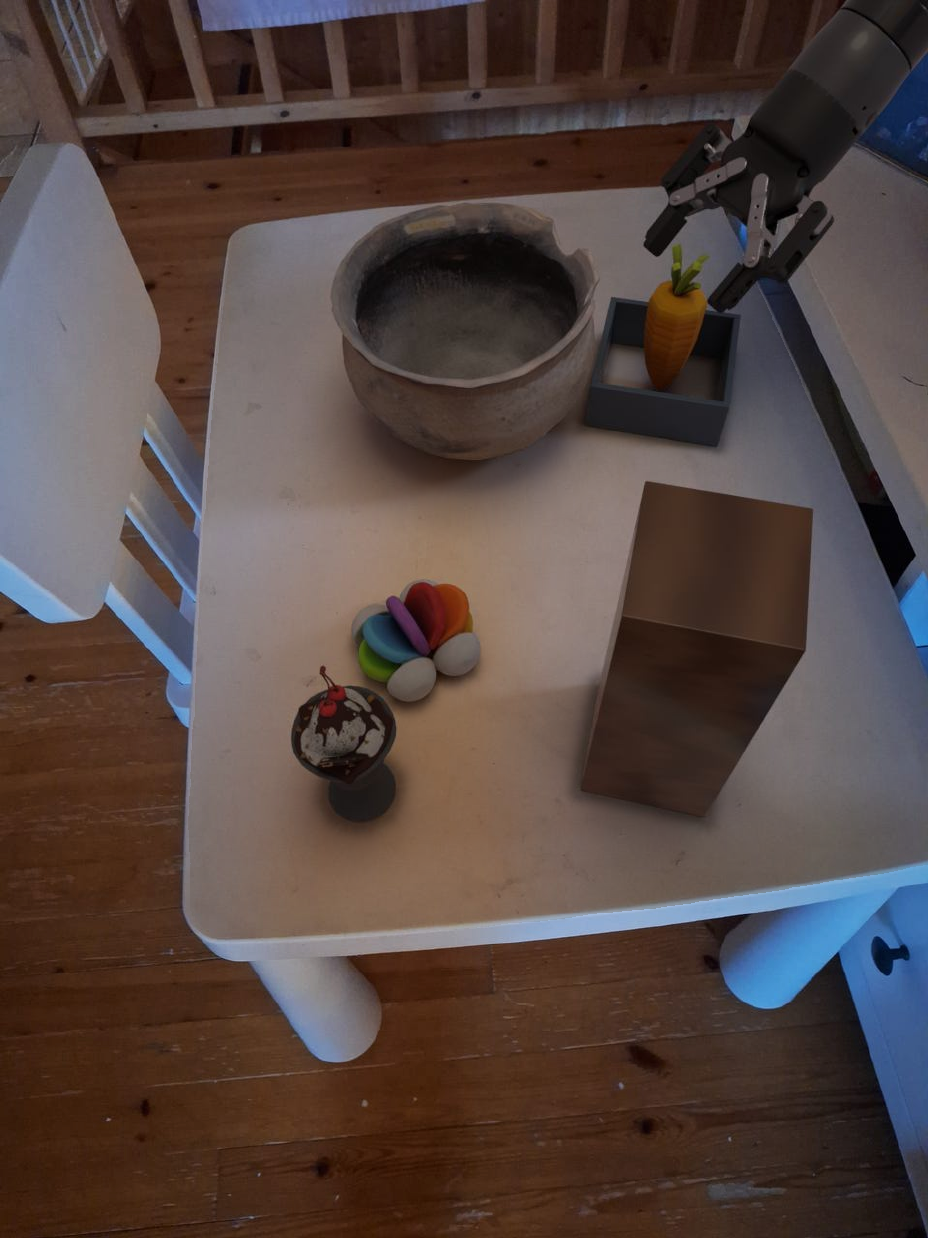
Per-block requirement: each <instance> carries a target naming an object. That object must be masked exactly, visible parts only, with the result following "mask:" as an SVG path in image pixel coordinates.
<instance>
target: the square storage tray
mask: <svg viewBox="0 0 928 1238" xmlns="http://www.w3.org/2000/svg"><path fill="white" fill-rule="evenodd" d="M609 300H610V301H609V305H608V309H607V313H606V318H605V322H604V325H603V329H602V334H601V338H600V343H599V347H598V350H597V351H598V352H597V355H596V360H595V364H594V368H593V372H592V377H591V382H590V385H589V390H588V391H589V393H588V400H587V408H586V416H585V422H584V423H585V424H584V425H585V426H586V427H591V428H598V429H604V430H609V431H610V430H611V431H615V432H616V431H617V432H622V433H628V434H637V435H641V436H649V437H654V438H660V439H665V440H666V439H668V440H674V441H678V442H679V441H680V442H685V443H686V442H687V443H693V444H699V445H705V446H710V447H719V446H718V445H719V442H720V439H721V437H722V433H723V430H724V427H725V423H726V420H727V417H728V414H729V411H730V407H731V399H732V392H733V383H734V376H735V366H736V359H737V349H738V343H739V342H738V341H739V335H740V334H739V333H740V327H741V326H740V325H741V317H742V315H741V314H739V313H732V312H725V311H724V312H722V313H719V312H717V311H716V310H709V309H706V311H705V314H704V318H703V321H702V325H701V328H700V331H699V334H698V337H697V340H696V343H695V345H694V347H693V349H692V351H691V353H690V355H692V356H693V355H694V356H700V357H705V358H706V357H707V358H714V359H720V360H721V366H720V374H719V380H718V387H717V395H716V400H715V399H709V398H703V397H696V396H695V397H694V396H689V395H681V394H676V393H675V394H674V393H669V392H663V391H657V390H656V391H655V390H649V389H642V388H636V387H630V386H629V387H628V386H623V385H616V384H610V383H603V377H604V373H605V368H606V364H607V363H606V362H607V361H608V356H609V351H610V346H611V344H617V345H624V346H632V347H639V348H644V331H645V322H646V315H647V309H648V302H649V301H645V300H638V299H631V298H623V297H615V296H611V297H610V299H609Z"/></svg>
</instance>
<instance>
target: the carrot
mask: <svg viewBox="0 0 928 1238" xmlns="http://www.w3.org/2000/svg"><path fill="white" fill-rule="evenodd" d="M671 250H672V251H671V252H672V261H673V264H672V266H671V269H670V276H671V277H670V278H671V280H666V281H663V282H661V283H659V284H658V286H657V287H656V288H655V290H654V291H653V293H652V294H651V295H650V298H649V299H648V301H647V302H648V309H647V315H646V322H645V331H644V347H643V355H644V364H645V369H646V372H647V376H648V378H649V380H650V383H651V384H652V386H653V388H654V390H656V391H657V392H662V391H665V390H666V389H667V388H668V387H669V386H670V385H672V383H673V382H674V381H675V379H676V378H677V377H678V376H679V374H680V373H681V371H682V370H683V368H684V366H685V364H686V363H687V361H688V359H689V357H690V355H691V354H690V353H691V351H692V349H693V347H694V345H695V343H696V340H697V337H698V334H699V331H700V328H701V325H702V321H703V318H704V314H705V311H706V310H707V307H708V303H707V300H708V298H707V297H706V295H704V293H703V291H702V289H701V288H702V284H701V283H700V282H698V281H694V282H692V281H693V280H694V279H695V278H696V277H697V276H698V275H699V274H700V273H701V272H702V269H703V263H704V262H706V261H707V260H708V259H709V258H710V256H709V255H708V254H706V253H704V254H702V255H700V256H699V257H698V258H696V259H695V260H694V261H693V262H692V263H691V264H690V265H689V266H688V267H687V268H686V269H685V271H683V273H682V270H683V269H682V268H683V267H682V266H683V252H682V251H683V249H682V244H681V243H677V244H674V245H672V247H671Z"/></svg>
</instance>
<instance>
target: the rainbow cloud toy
mask: <svg viewBox="0 0 928 1238" xmlns="http://www.w3.org/2000/svg"><path fill="white" fill-rule="evenodd" d="M473 629H474V619H473V616H472V614H471V612H470V602H469V598H468V596H467V594H466V593H465V591H464V590H462V589H461V588H459V587H458V586H456V585H453V584H451V583H437V582H435V581H433V580H432V579H431V580H430V579H424V578H423V579H416V580H414V581H411V582H410V583H408V584H407V585H406V586H404V588H403V589H402V591H400V595H399V596H396V595H390V596H388V597H387V598H386V600H385V604H380V603H378V604H377V603H376V604H375V603H374V604H370V605H367V606H364V607H363V608H362V609H360V610H359V611H358V612H357V613H356V615H355V616H354V618H353V620H352V623H351V628H350V634H351V638H352V641H353V643H354V644H355V645H356V646H357V647H359V648H358V651H357V660H358V661H357V662H358V665H359V668H360V669H361V671H362V672H363V673H364V674H365V675H366V676H367V677H368V678H370V679H372V680H375V681H377V682H384V683H387V685H386V688H387V691H388V693H389V694H390V695H391V696H393V698H396V699H397V700H400V701H403V702H415V701H419V700H421V699H423V698H425V697H426V696H428V694H430V692H431V691H432V689H433V688H434V685H435V683H436V679H437V671H438V672H441V673H442V674H444V675H446V676H452V677H453V676H455V677H457V676H461V675H465V674H467V673H468V672H470V671H472V669H474V667H475V666H476V665H477V663H478V661H479V660H480V656H481V642H480V640H479V637H478V636H477V634H476V633H474V632H473ZM429 654H431V655H432V659H431V658H430V657H427V656H428V655H429Z"/></svg>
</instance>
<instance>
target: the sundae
mask: <svg viewBox="0 0 928 1238" xmlns="http://www.w3.org/2000/svg"><path fill="white" fill-rule="evenodd" d="M326 671H327V667H326V666H325V665H321V666H320V667H319V675H320V676H321V677H322V679H324V681H325V683H326V686H327V689H325V690H322V691H320V692H318V693H316V694H314V695H312V696H311V697H309V698H308V699H307V701H305V702H304V703H303V704H301V705H299V707H298V710H297V713H296V716H295V718H294V720H293V723H292V727H291V733H290V741H291V748H292V753H293V755H294V756H295V758H296V759H297V761H298V763H299V764H300V765H301V766H302V767H303V768H305V769H306V770H307V771H308V772H310V773H311V774H313V775H315V776H317V777H318V778H321V779H324V780H325V781H328V782H329V783H328V788H327V794H328V801H329V803H330V806H331V807H332V808H333V810H334V812H335V813H336V814H338V815H339V816H340V817H342V818H343V819H345V820H348V821H350V822H351V821H352V822H357V823H361V822H368V821H372V820H374V819H376V818H379V817H381V815H383V814H384V813H386V811H387V810H388V809H389V808H390V806H391V805H392V803H393V802H394V800H395V796H396V791H397V785H396V779H395V776H394V774H393V772H392V771H391V769H390V768H389V766H387V764H385V763H384V761H385V758H386V757H387V755H388V754H390V752H391V750H392V748H393V746H394V743H395V740H396V738H397V723H396V721H397V720H396V718H395V715H394V713H393V711H392V709H391V708H390V705H388V703H387V702H386V700H385V699H384V698H383V697H382V696H381V695H379V694H378V693H376V692H375V691H373V690H371V689H369V688H367V687H362V686H358V685H344V686H341V685H339V684H335V682H334V681H333V680H332V678H331V677H329V676H328V674H326ZM329 682H330V683H329ZM330 684H331V685H330Z"/></svg>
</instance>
